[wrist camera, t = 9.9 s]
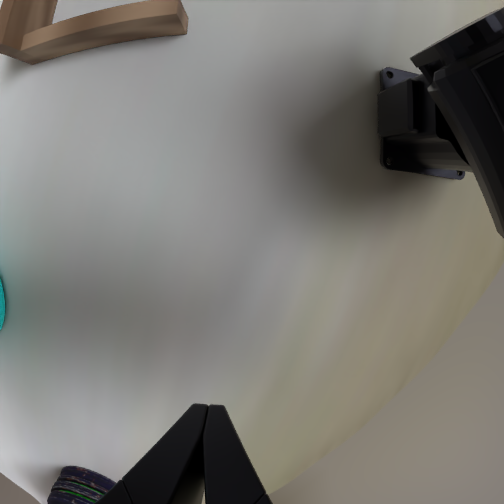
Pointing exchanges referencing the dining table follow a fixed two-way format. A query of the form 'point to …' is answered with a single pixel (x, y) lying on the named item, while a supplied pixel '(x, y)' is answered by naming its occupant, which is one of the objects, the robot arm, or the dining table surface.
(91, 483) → the storage jar
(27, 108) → the dining table surface
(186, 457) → the robot arm
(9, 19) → the walnut corral
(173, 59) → the dining table surface
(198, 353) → the dining table surface
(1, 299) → the donuts
